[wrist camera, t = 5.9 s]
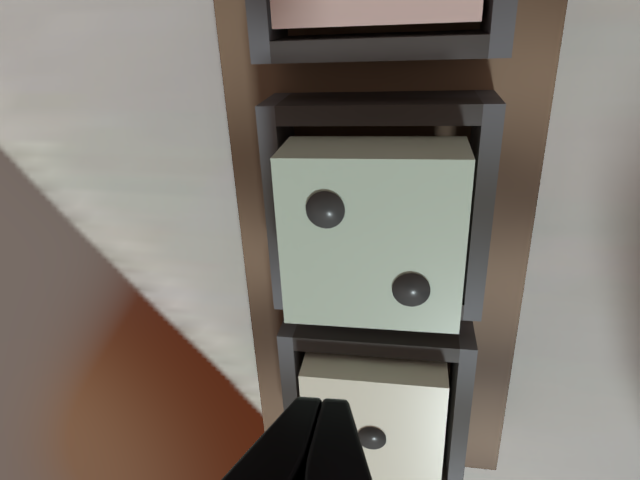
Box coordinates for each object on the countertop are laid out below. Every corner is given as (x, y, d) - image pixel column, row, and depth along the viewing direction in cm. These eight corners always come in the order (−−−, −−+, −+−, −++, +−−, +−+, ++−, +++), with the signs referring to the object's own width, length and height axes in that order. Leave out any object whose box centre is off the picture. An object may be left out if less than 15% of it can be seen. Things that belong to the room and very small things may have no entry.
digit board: (489, 429, 21) (504, 518, 17) (278, 410, 22) (252, 487, 19) (587, -288, 11) (665, -415, 8) (212, -239, 13) (136, -328, 9)
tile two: (453, 292, 14) (459, 335, 12) (299, 284, 15) (283, 324, 13) (466, 136, 12) (475, 160, 10) (290, 136, 13) (269, 158, 11)
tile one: (437, 445, 18) (440, 495, 16) (316, 433, 19) (306, 480, 17) (445, 345, 16) (449, 389, 14) (310, 336, 17) (297, 377, 15)
